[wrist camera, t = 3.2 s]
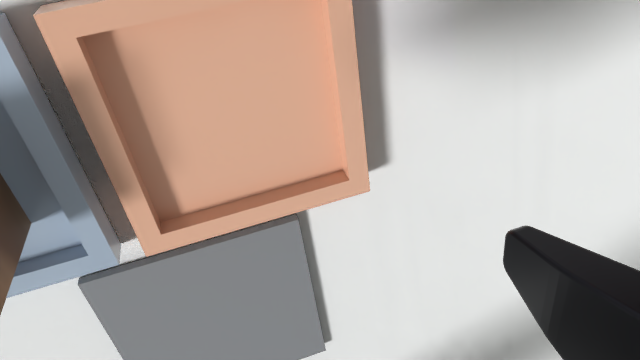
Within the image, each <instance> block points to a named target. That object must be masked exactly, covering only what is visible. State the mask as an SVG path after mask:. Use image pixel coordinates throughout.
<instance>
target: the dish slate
mask: <svg viewBox="0 0 640 360" xmlns="http://www.w3.org/2000/svg"><path fill="white" fill-rule="evenodd" d="M0 173H1V175H2V177H3V178H4V180H5V181H6V183H7V185H8V186H9V188H10V189H11V191H12V193H13V194H14V196H15V197H16V199H17V201H18V202H19V204H20V205H21V207H22V209H23V210H24V212H25V214H26V215H27V217H28V218H29V220H30V222H31V223H32V224H31V227H30V229H29V232H28V235H27V238H26V241H25V244H24V247H23V250H22V253H21V256H20V259H19V262H18V265H17V268H16V271H15V274H14V276H13V279H12V282H11V285H10V288H9V291H8V294H7V297H6V298H8V297H12V296H15V295H18V294H22V293H25V292H29V291H32V290H35V289H39V288H42V287H46V286H49V285H52V284H56V283H59V282H63V281H66V280H69V279H73V278H76V277H80V276H83V275H86V274H90V273H93V272H97V271H100V270H103V269H107V268H110V267H114V266H117V265H119V263H120V250H121V244H120V242H119V240H118V238H117V236H116V234H115V232H114V230H113V228H112V226H111V224H110V222H109V220H108V218H107V216H106V214H105V212H104V210H103V208H102V206H101V204H100V202H99V200H98V198H97V196H96V194H95V192H94V190H93V188H92V186H91V184H90V182H89V180H88V178H87V176H86V174H85V172H84V170H83V168H82V166H81V164H80V162H79V160H78V158H77V156H76V154H75V152H74V150H73V148H72V146H71V144H70V142H69V140H68V138H67V136H66V134H65V132H64V130H63V128H62V126H61V124H60V122H59V120H58V118H57V116H56V114H55V112H54V110H53V108H52V106H51V104H50V102H49V100H48V98H47V96H46V94H45V92H44V90H43V88H42V86H41V84H40V82H39V80H38V78H37V76H36V74H35V72H34V70H33V68H32V66H31V64H30V62H29V60H28V58H27V56H26V54H25V52H24V50H23V49H22V47H21V45H20V43H19V41H18V39H17V37H16V35H15V33H14V31H13V29H12V27H11V25H10V23H9V21H8V19H7V17H6V15H5V13H1V14H0Z"/></svg>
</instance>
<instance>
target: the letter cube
mask: <svg viewBox="0 0 640 360" xmlns="http://www.w3.org/2000/svg"><path fill="white" fill-rule="evenodd" d="M31 224H32V223H31V222H30V220H29V218H28V217H27V215H26V214H25V212H24V210H23V209H22V207H21V205H20V204H19V202H18V201H17V199H16V197H15V196H14V194H13V193H12V191H11V189H10V188H9V186H8V185H7V183H6V181H5V180H4V178H3V177H2V175H1V173H0V315H1V312H2V309H3V306H4V303H5V300H6V297H7V294H8V291H9V288H10V285H11V282H12V279H13V276H14V274H15V271H16V268H17V265H18V262H19V259H20V256H21V253H22V250H23V247H24V244H25V241H26V238H27V235H28V232H29V229H30V227H31Z"/></svg>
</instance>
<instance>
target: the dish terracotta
mask: <svg viewBox="0 0 640 360" xmlns="http://www.w3.org/2000/svg"><path fill="white" fill-rule="evenodd" d="M33 17H34V19H35V21H36V23H37V25H38V27H39V29H40V32H41V34H42V36H43V38H44V40H45V42H46V44H47V46H48V49H49V51H50V53H51V55H52V57H53V59H54V61H55V63H56V66H57V68H58V70H59V72H60V74H61V76H62V78H63V81H64V83H65V85H66V87H67V89H68V91H69V93H70V95H71V98H72V100H73V102H74V104H75V106H76V108H77V110H78V112H79V115H80V117H81V119H82V121H83V123H84V125H85V127H86V129H87V132H88V134H89V136H90V138H91V140H92V142H93V144H94V146H95V149H96V151H97V153H98V155H99V157H100V159H101V161H102V163H103V166H104V168H105V170H106V172H107V174H108V176H109V178H110V180H111V183H112V185H113V187H114V189H115V191H116V193H117V195H118V197H119V200H120V202H121V204H122V206H123V208H124V210H125V212H126V214H127V217H128V219H129V221H130V223H131V225H132V227H133V229H134V231H135V234H136V236H137V238H138V240H139V242H140V244H141V246H142V248H143V251H144V253H145V255H146V257H148V256H151V255H154V254H158V253H161V252H165V251H168V250H171V249H175V248H178V247H182V246H185V245H188V244H192V243H195V242H199V241H202V240H205V239H209V238H212V237H216V236H219V235H222V234H226V233H229V232H233V231H236V230H239V229H243V228H246V227H250V226H253V225H256V224H260V223H263V222H267V221H270V220H273V219H277V218H280V217H284V216H287V215H290V214H294V213H297V212H301V211H304V210H307V209H311V208H314V207H318V206H321V205H324V204H328V203H331V202H335V201H338V200H341V199H345V198H348V197H352V196H355V195H358V194H362V193H365V192H369V191H370V186H369V175H368V165H367V154H366V144H365V133H364V123H363V112H362V101H361V91H360V80H359V70H358V59H357V49H356V38H355V28H354V17H353V7H352V0H65V1H60V2H55V3H50V4H45V5H41V6H40V7H39V8H38V10H37V11H36V12H35V13H34V14H33Z"/></svg>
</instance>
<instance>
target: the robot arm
mask: <svg viewBox="0 0 640 360" xmlns="http://www.w3.org/2000/svg"><path fill="white" fill-rule="evenodd" d="M503 264H504V268H505V270H506V272H507V274H508V276H509V277H510V279H511V280H512V282H513V284H514V285H515V287H516V289H517V290H518V292H519V294H520V295H521V297H522V298H523V300H524V302H525V303H526V305H527V307H528V308H529V310H530V312H531V313H532V315H533V316H534V318H535V320H536V321H537V323H538V325H539V326H540V328H541V329H542V331H543V332H544V334H545V336H546V337H547V338H548V340H549V341H550V343H551V344H552V345H553V347H554V348H555V349H556V351H557V352H558V353H559V355H560V356H561V357H562V359H563V360H640V271H639V270H636V269H634V268H632V267H629V266H627V265H624V264H622V263H619V262H617V261H614V260H612V259H609V258H607V257H604V256H602V255H600V254H597V253H595V252H592V251H590V250H587V249H585V248H582V247H580V246H577V245H575V244H572V243H570V242H568V241H565V240H563V239H560V238H558V237H555V236H553V235H550V234H548V233H545V232H543V231H541V230H538V229H536V228H533V227H530V226H522V227H519V228H516V229H513V230H510V231H508V232H507V234H506V237H505V246H504V256H503Z"/></svg>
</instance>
